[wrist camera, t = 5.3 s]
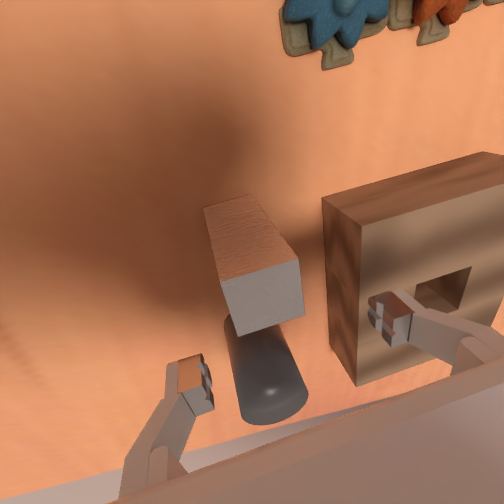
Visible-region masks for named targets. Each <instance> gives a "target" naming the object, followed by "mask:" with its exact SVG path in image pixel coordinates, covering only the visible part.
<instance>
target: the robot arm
mask: <svg viewBox="0 0 504 504" xmlns="http://www.w3.org/2000/svg"><path fill="white" fill-rule="evenodd" d="M368 304H369V305H370V308H369V309H368V318H369V321H370V323H371V324H372V326H373V327H374V328H375V329H376V330H378V331H381V332H382V338H383V339H384V340H385V341H386V342H387V343H388V345H389V346H390V347H394V346H397V345H400V344H404V343H407V342H408V343H409V344H411V345H413V346H415V347H417V348H419V349H421V350H423V351H425V352H427V353H429V354H431V355H433V356H435V357H437V358H439V359H441V360H443V361H444V362H446V363H448V364H450V365H452V366H453V367H452V370H451V374H450V376H449V377H447V378H444V379H441V380H439V381H436V382H433V383H430V384H428V385H425V386H422V387H420V388H417V389H414V390H412V391H409V392H406V393H403V394H401V395H398V396H395V397H393V398H390V399H387V400H385V401H382V402H379V403H376V404H374V405H372V406H368V407H366V408H363V409H360V410H358V411H355V412H352V413H349V414H347V415H344V416H341V417H339V418H336V419H333V420H331V421H328V422H325V423H323V424H320V425H318V426H315V427H312V428H309V429H307V430H304V431H301V432H299V433H296V434H293V435H290V436H288V437H285V438H282V439H280V440H277V441H274V442H271V443H269V444H266V445H263V446H261V447H258V448H255V449H253V450H250V451H247V452H245V453H242V454H239V455H236V456H234V457H231V458H229V459H226V460H223V461H220V462H218V463H215V464H212V465H210V466H207V467H204V468H201V469H199V470H196V471H193V472H191V473H187V471H186V470H185V469H184V467H183V466H182V465H181V464H180V462H179V459H180V457H181V455H182V452H183V450H184V447H185V444H186V442H187V439H188V437H189V434H190V432H191V429H192V427H193V424H194V422H195V419H196V417H197V416H199V415H202V414H204V413H207V412H210V411H212V410H215V408H214V398H213V393H212V391H211V387H212V380H211V375H210V371H209V368H208V366H207V364H205V363H204V357H203V355H202V354H201V353H200V354H197V355H194V356H190V357H187V358H184V359H181V360H178V361H175V362H171V363H168V364H167V367H166V381H165V397H164V399H162V400H161V401H160V402H159V404H158V406H157V407H156V409H155V410H154V412H153V414H152V415H151V417H150V419H149V420H148V422H147V423H146V425H145V427H144V428H143V430H142V432H141V433H140V435H139V436H138V438H137V440H136V441H135V443H134V445H133V446H132V448H131V449H130V451H129V453H128V454H127V456H126V458H125V462H124V468H123V474H122V480H121V487H120V492H119V498H118V500H115V501H112V502H110V503H107V504H504V336H503V335H501V334H500V333H498V332H497V331H496V330H494V329H493V328H492V327H488V326H485V325H482V324H479V323H476V322H472V321H469V320H466V319H463V318H460V317H456V316H453V315H450V314H447V313H444V312H440V311H437V310H434V309H431V308H428V309H426V308H425V307H423V306H422V305H421V304H420V303H419V302H417V301H416V300H415V299H414V298H412V297H411V296H410V295H409V294H408V293H406V292H405V291H404V290H403V289H402V288H399V287H398V288H395V289H392V290H389V291H386V292H383V293H380V294H377V295H375V296H372V297H369V299H368Z"/></svg>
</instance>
